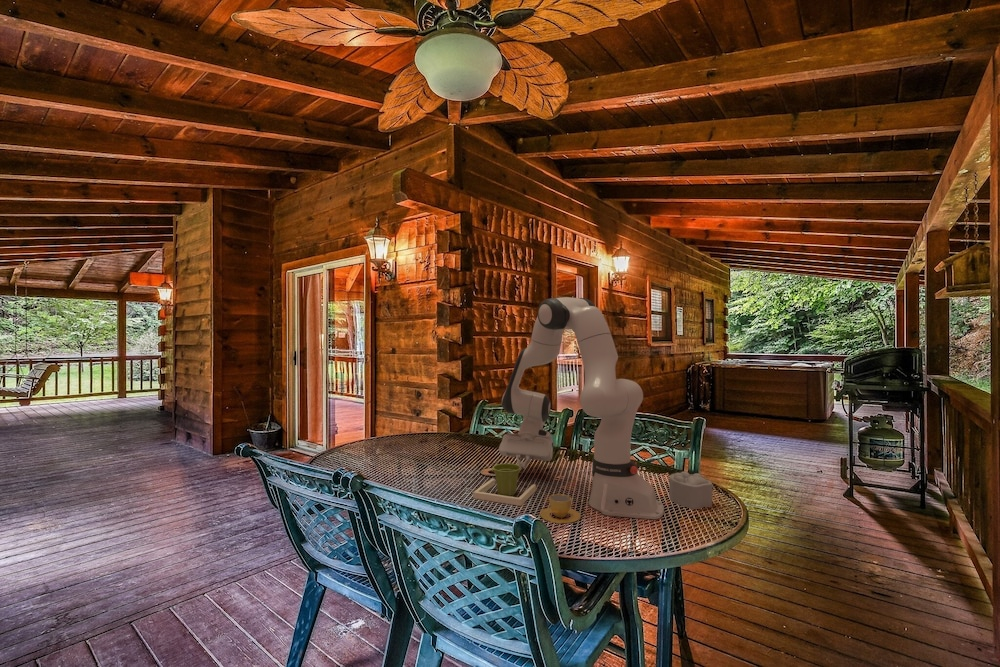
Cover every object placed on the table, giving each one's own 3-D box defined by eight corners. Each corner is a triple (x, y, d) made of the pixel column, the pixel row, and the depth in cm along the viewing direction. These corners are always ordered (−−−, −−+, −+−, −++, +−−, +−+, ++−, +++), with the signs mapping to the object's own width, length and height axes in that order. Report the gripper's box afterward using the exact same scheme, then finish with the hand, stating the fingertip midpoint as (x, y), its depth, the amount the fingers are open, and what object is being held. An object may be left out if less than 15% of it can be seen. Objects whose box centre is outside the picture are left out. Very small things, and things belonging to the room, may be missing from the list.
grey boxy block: (692, 511, 140) (692, 482, 140) (660, 497, 152) (661, 470, 152) (716, 506, 144) (717, 478, 144) (684, 492, 156) (684, 467, 156)
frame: (536, 490, 157) (536, 484, 157) (520, 506, 143) (520, 499, 143) (491, 484, 163) (491, 478, 163) (473, 498, 149) (473, 492, 149)
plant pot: (487, 490, 157) (487, 465, 157) (512, 486, 161) (512, 461, 161) (500, 499, 148) (500, 472, 148) (525, 495, 153) (526, 468, 153)
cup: (576, 527, 128) (576, 507, 128) (534, 520, 133) (535, 502, 133) (584, 511, 140) (584, 493, 140) (545, 506, 144) (545, 488, 144)
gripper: (502, 428, 179) (492, 459, 170) (553, 433, 171) (545, 466, 162) (506, 437, 183) (496, 468, 174) (556, 442, 175) (549, 475, 166)
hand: (520, 467), depth 168 cm, fingers closed
